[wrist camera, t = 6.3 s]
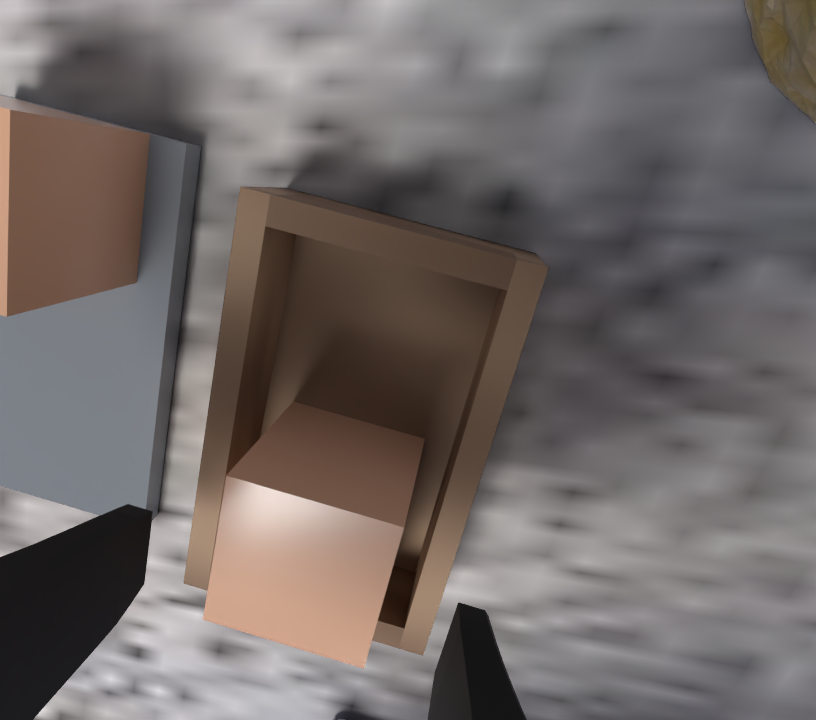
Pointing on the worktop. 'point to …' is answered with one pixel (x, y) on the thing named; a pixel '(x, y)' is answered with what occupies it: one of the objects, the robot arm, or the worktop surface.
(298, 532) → the peach cube
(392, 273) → the walnut bin
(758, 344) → the worktop surface
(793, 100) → the coral
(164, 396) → the slate board
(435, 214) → the worktop surface
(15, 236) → the tan cube
